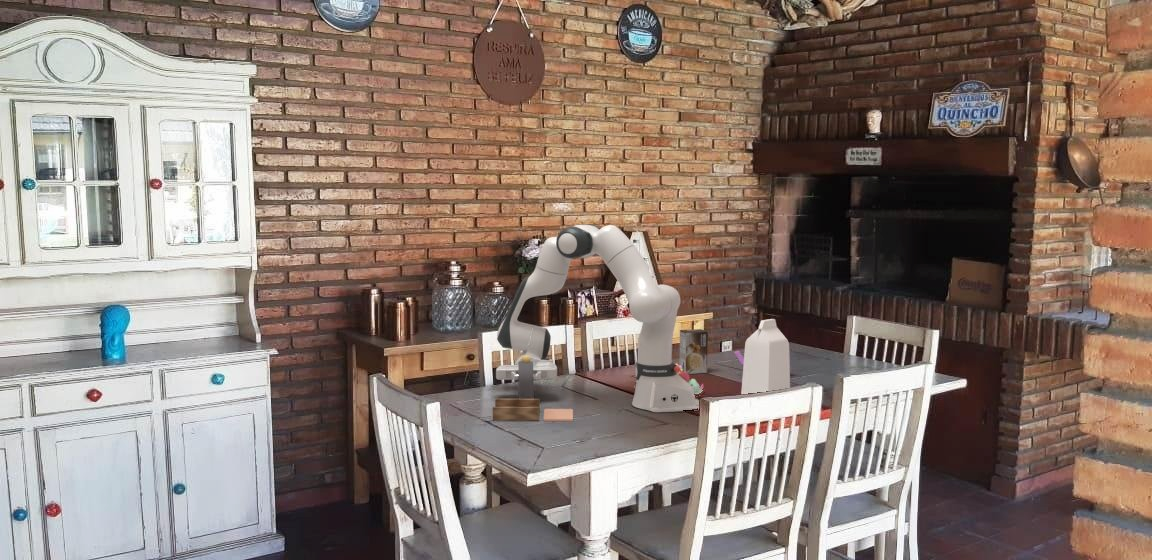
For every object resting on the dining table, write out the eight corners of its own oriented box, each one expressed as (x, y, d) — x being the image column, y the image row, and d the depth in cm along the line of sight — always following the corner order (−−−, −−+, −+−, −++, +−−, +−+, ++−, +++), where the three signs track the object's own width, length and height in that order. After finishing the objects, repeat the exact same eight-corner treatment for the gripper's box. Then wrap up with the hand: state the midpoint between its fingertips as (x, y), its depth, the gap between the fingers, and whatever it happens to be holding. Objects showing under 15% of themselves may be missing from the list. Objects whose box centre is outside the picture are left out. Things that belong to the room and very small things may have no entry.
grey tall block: (533, 396, 294) (533, 354, 292) (533, 400, 289) (532, 357, 288) (519, 396, 294) (518, 354, 292) (518, 400, 289) (517, 357, 288)
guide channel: (539, 411, 284) (539, 398, 284) (538, 420, 273) (538, 407, 273) (495, 410, 284) (495, 398, 284) (492, 420, 273) (492, 407, 273)
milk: (767, 400, 300) (770, 324, 297) (741, 394, 309) (743, 319, 306) (790, 395, 307) (792, 320, 304) (763, 389, 316) (765, 316, 313)
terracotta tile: (572, 410, 285) (572, 409, 285) (573, 421, 273) (573, 419, 273) (544, 410, 285) (544, 408, 285) (543, 421, 273) (543, 419, 273)
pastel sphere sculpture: (623, 393, 310) (624, 367, 309) (650, 379, 331) (650, 355, 329) (692, 402, 298) (692, 375, 297) (715, 387, 319) (715, 362, 318)
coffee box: (700, 369, 347) (701, 328, 345) (707, 373, 341) (708, 331, 339) (678, 370, 344) (679, 329, 342) (685, 374, 338) (686, 332, 336)
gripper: (496, 359, 303) (493, 368, 289) (557, 359, 303) (556, 367, 290) (497, 378, 304) (493, 387, 290) (557, 377, 304) (557, 387, 290)
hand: (525, 377), depth 290 cm, fingers closed on grey tall block, 5 cm apart
